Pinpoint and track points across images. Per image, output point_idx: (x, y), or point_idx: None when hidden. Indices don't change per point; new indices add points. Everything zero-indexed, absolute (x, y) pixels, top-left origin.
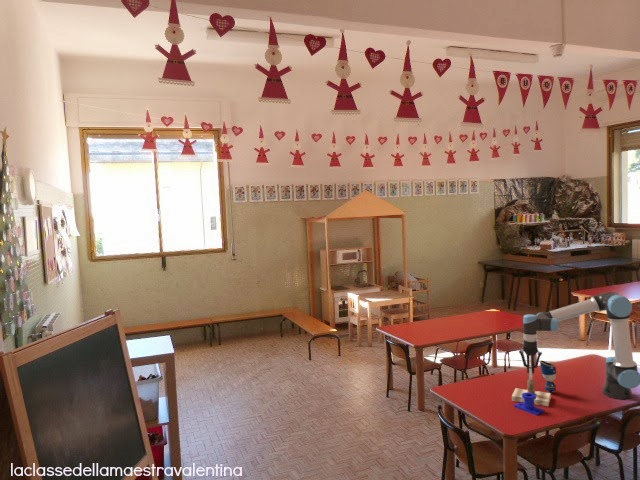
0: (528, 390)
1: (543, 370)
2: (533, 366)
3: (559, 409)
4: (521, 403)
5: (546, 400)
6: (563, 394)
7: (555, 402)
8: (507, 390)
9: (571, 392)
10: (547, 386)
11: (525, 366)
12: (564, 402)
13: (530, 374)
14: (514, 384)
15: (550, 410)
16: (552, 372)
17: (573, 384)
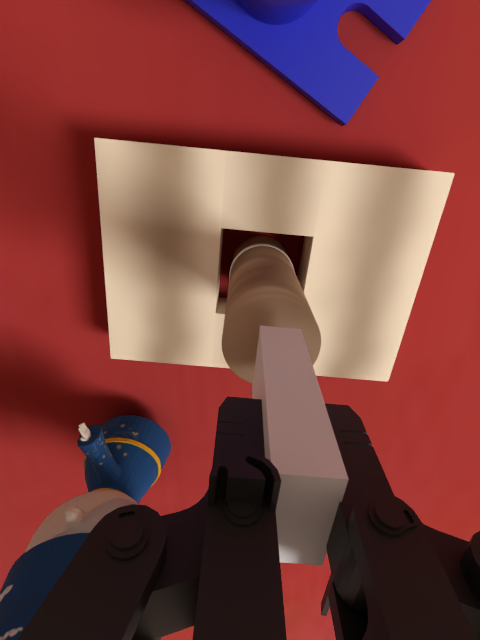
0: (291, 268)
1: None
2: (211, 553)
3: (9, 98)
4: (355, 74)
5: (113, 161)
6: (57, 423)
7: (75, 261)
8: (431, 384)
9: (22, 464)
10: (141, 448)
11: (474, 536)
12: (15, 284)
13: (288, 370)
14: None
15: (76, 31)
16: (21, 574)
17: None
